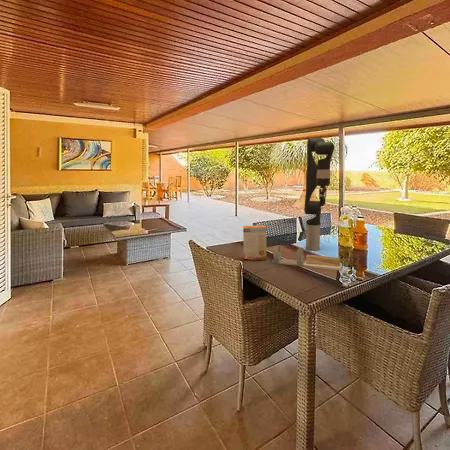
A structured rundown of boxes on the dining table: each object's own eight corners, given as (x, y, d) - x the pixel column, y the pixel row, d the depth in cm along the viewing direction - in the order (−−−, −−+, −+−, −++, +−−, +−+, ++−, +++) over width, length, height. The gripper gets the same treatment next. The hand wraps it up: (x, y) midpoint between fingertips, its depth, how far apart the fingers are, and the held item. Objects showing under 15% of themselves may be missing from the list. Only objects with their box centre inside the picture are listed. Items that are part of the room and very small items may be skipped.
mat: (305, 261, 179) (306, 259, 179) (341, 265, 171) (342, 263, 171) (303, 266, 170) (303, 264, 170) (340, 270, 162) (341, 268, 162)
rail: (306, 261, 176) (307, 254, 175) (339, 264, 168) (340, 257, 168) (305, 263, 172) (306, 256, 171) (339, 266, 165) (339, 259, 164)
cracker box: (265, 257, 190) (265, 224, 186) (266, 260, 184) (266, 226, 180) (243, 257, 191) (243, 225, 187) (243, 260, 185) (243, 226, 181)
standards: (275, 259, 185) (275, 245, 184) (304, 262, 178) (305, 247, 176) (271, 263, 178) (271, 248, 176) (302, 266, 171) (302, 250, 169)
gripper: (318, 177, 182) (317, 204, 185) (315, 178, 169) (314, 206, 172) (331, 177, 179) (330, 204, 182) (329, 177, 166) (328, 206, 169)
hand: (322, 205), depth 177 cm, fingers open, 8 cm apart
